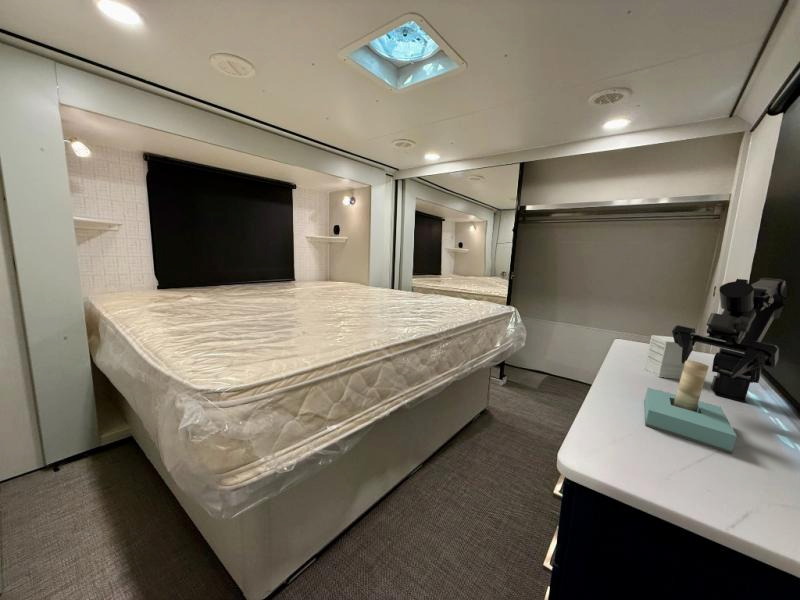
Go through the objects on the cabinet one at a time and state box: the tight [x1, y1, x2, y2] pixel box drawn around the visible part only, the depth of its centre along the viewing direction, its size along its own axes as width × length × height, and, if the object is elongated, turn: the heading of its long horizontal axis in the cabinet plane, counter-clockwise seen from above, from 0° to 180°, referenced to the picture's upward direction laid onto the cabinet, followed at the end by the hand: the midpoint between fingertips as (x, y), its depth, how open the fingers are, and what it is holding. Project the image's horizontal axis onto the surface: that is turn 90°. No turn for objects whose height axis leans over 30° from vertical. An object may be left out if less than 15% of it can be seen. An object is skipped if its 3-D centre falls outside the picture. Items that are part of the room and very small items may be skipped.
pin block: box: [643, 387, 738, 454], centre depth 73 cm, size 14×16×4 cm
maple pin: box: [673, 359, 710, 412], centre depth 73 cm, size 4×4×14 cm
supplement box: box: [643, 334, 685, 380], centre depth 104 cm, size 7×7×13 cm
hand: (705, 369), depth 76 cm, fingers open, 9 cm apart
